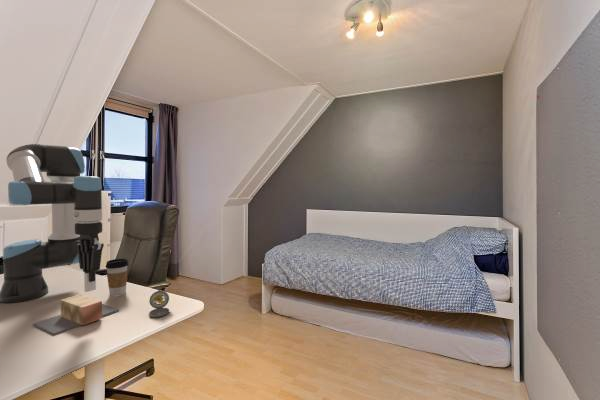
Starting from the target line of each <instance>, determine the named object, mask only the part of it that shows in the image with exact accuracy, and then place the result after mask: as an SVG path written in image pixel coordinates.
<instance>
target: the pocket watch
mask: <svg viewBox="0 0 600 400" xmlns="http://www.w3.org/2000/svg"><path fill="white" fill-rule="evenodd" d="M162 288H164V285H163V284H160V283H159V284H156V285H155V289H157V290H155V291H154V292H153V293H152V294H151V296H150V297H149V305H150V306H151V307H152V308H154V309H152V310H150V311H149V312H148V315H149V317H150V318H160V317H163V316H166V315H168V313H170V309H169V308H168V307H166V306H167V305H168V303H169V301H170V296H169V293H168V292H166V291H164V290H162Z"/></svg>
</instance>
